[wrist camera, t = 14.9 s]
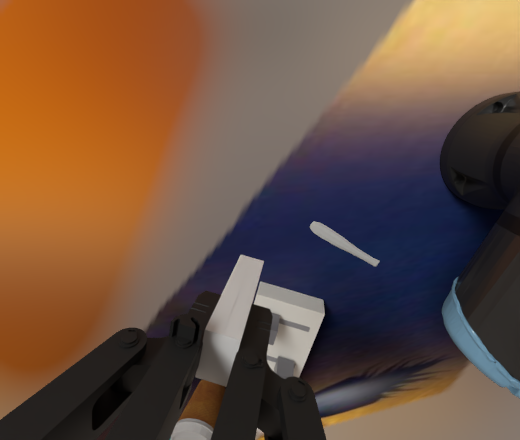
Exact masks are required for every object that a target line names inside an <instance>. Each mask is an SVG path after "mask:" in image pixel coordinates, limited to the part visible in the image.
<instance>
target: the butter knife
mask: <svg viewBox="0 0 520 440" xmlns="http://www.w3.org/2000/svg"><path fill="white" fill-rule="evenodd" d="M310 229H311V230H312V231H313V232H314V233H315V234H316V235H318V236H319V237H321V238H323V239H324V240H326V241H328V242H330V243H331V244H333V245H335V246H337V247H339V248H341V249H343V250H345V251H347V252H349V253H351V254H353V255H355V256H357V257H359V258H361V259H363V260H364V261H366V262H368V263H370V264H371V265H373V266H376V265H377V264H378V263H379V262H380V261H379V260H377V259H375V258H373V257H371V256H369V255H367V254H366V253H364V252H363V251H361V250H360V249H358V248H357V247H355V246H354V245H353V244H351V243H350V242H349V241H347V240H346V239H345V238H343V237H342V236H340V235H339V234H337V233H336V232H334V231H333V230H331V229H330V228H328V227H327V226H325V225H323V224H321V223H319V222H315V221H314V222H313V223H312V224H311V225H310Z"/></svg>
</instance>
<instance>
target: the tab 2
mask: <svg viewBox="0 0 520 440" xmlns="http://www.w3.org/2000/svg"><path fill="white" fill-rule="evenodd" d="M274 372H275V373H276V374H277V375H279V376H281V377H282V378H284V379H286V378H287V377H293V375H294V361H292V360H289V359H286V358H283V357H279V356H278V358H277V361H276V364H275V367H274Z"/></svg>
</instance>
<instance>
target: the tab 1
mask: <svg viewBox="0 0 520 440" xmlns="http://www.w3.org/2000/svg"><path fill="white" fill-rule="evenodd" d="M271 313H272V312H271ZM272 316H273V319H272V325H271V331H270V337H269V344H270V345H273V344H274V342H275V339H276V336H277V333H278V326H279V318H280V315H278V314H275V313H272Z"/></svg>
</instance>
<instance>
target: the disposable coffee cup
mask: <svg viewBox="0 0 520 440" xmlns="http://www.w3.org/2000/svg"><path fill="white" fill-rule="evenodd" d="M224 393H225V387H224V386H222V385H219V384H216V383H213V382H209V381H206V380H201V381H200V382H199V384H198V386H197V388H196V390H195V392H194V393H193V395H192V397H191V399H190V401H189V402H188V404H187V406H186V408H185V410H184V411H183V413H182V415H181V417H180V419H179V420H178V422H177V423H176V425H175V428H174V430H173V432H172V435H171V439H170V440H211V437H212V433H213V430H214V426H215V423H216V420H217V416H218V413H219V410H220V406H221V403H222V399H223V396H224Z"/></svg>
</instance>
